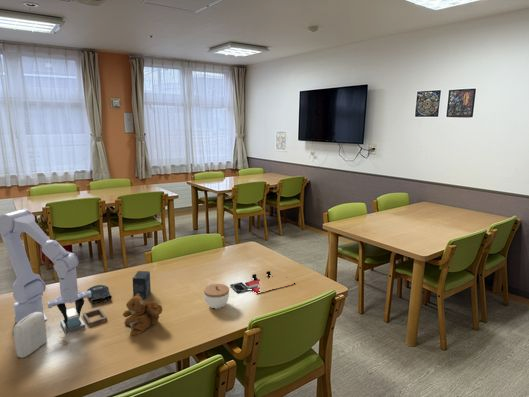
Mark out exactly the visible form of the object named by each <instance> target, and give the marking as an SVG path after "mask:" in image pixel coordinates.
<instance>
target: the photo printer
mask: <svg viewBox="0 0 529 397" xmlns="http://www.w3.org/2000/svg"><path fill="white" fill-rule="evenodd" d="M13 337H14V338H13V339H14V345H15V347H14V348H15V354H16V356H17V357H18V358H25V357H28V356H30V355H31V354H32V353H33V352H34V351H36V350H37V349H39V348H40V347H41V346H43V345H44V344H45V343H46V342H47V339H48V337H47V330H46V321H45V318H44V315H43V313H42V312H34V313H32V314H30V315H28V316H26V317H24V318H23V319H22V320H20V321H19V322H18V323H17V324H15V325H14V327H13Z"/></svg>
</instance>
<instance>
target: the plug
mask: <svg viewBox="0 0 529 397" xmlns="http://www.w3.org/2000/svg"><path fill="white" fill-rule="evenodd" d="M66 313H67V320H68V321H67V322H66V323H65V325H67V326H66V327H67V329H69V328H72V327H75V326H78V325H80V323H79V315H78V313H77V311H76V307H72V308H69V309H66Z"/></svg>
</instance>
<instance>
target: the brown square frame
mask: <svg viewBox="0 0 529 397" xmlns="http://www.w3.org/2000/svg"><path fill="white" fill-rule="evenodd" d="M96 314H99V315H100V316H101V318H98V319H95V320H92V321H91V320H90V318H89V316H93V315H96ZM82 317H83V319H84V321H85V323H86V324H87V325H88V327H93V326H96V325H98V324H102V323H105V322H107V321H108V317H107V316H106V314H105V313H104V311H103V309H101V308H95V309H92V310H88V311H86V312H83V313H82Z"/></svg>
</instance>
